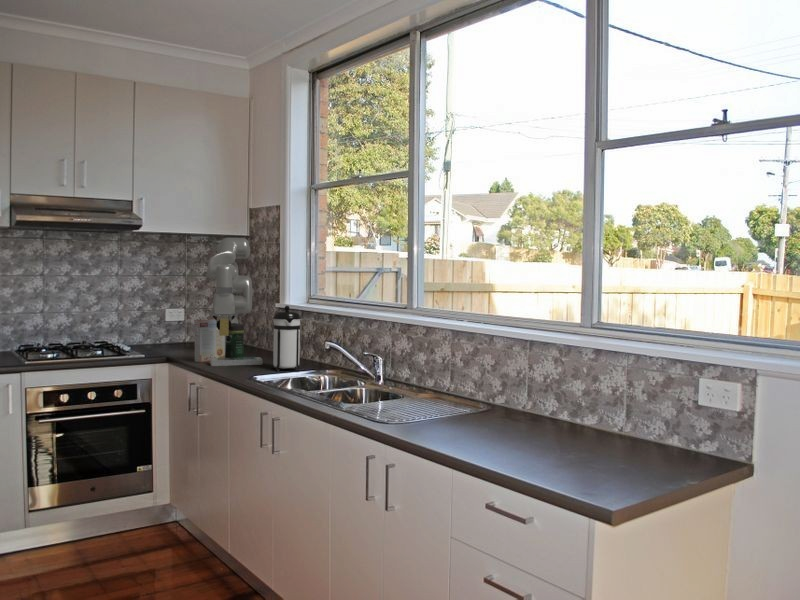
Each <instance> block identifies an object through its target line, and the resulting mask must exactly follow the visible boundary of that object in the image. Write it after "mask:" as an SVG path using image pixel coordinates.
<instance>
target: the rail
mask: <svg viewBox="0 0 800 600" xmlns="http://www.w3.org/2000/svg"><path fill="white" fill-rule="evenodd" d="M209 365H210V366H211V367H219V366H220V367H221V366H253V365H254V366H257V365H263V358H262V357H260V356H257V357H256V356H244V357H240V358H210V362H209Z"/></svg>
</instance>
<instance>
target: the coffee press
mask: <svg viewBox="0 0 800 600" xmlns="http://www.w3.org/2000/svg"><path fill="white" fill-rule="evenodd" d="M272 317H273V324H272V326H273V327H272V329H273V345H272V346H273V351H272V352H273V353H272V354H273V356H272V357H273V359H272V360H273V362H272V363H273V364H272V366H271V367H272V369H273V368H275V371H276V370H280V371H281V370H282V369H295V370H296V369H298V370H299V369H300V370H301V367H300V350H301V349H300V346H301V345H300V343H301V342H300V340H301V339H300V338H301V319H302V317H301V315H300V313H299V312H297V311H294V310H290V306H289V305H285V306H284V310H278V311H276V312H275V313H274V315H273V316H272ZM295 367H296V368H295Z"/></svg>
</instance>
